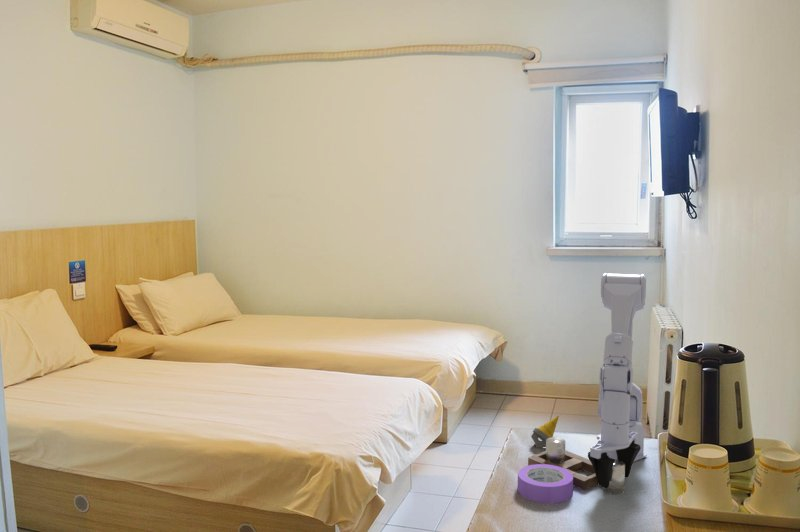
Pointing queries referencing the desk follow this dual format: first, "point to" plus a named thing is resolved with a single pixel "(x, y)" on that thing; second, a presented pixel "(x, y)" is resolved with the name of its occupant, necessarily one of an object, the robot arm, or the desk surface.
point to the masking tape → (545, 483)
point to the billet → (616, 478)
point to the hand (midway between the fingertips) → (613, 481)
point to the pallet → (571, 468)
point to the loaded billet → (555, 450)
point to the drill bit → (544, 432)
